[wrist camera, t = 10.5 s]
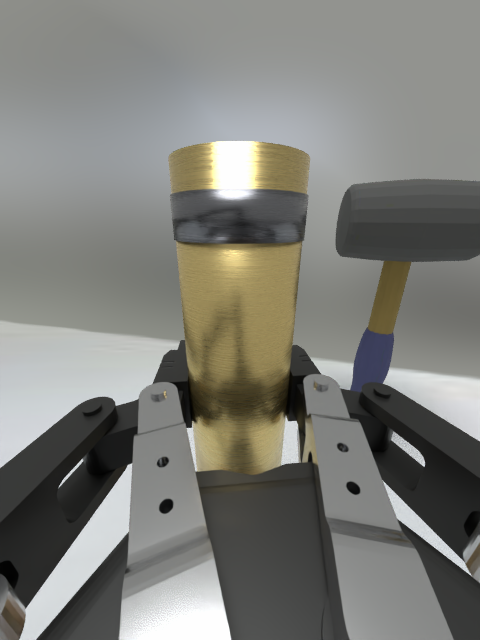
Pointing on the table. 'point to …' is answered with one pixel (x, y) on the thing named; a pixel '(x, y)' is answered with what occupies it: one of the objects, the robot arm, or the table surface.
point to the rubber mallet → (403, 247)
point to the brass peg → (239, 293)
